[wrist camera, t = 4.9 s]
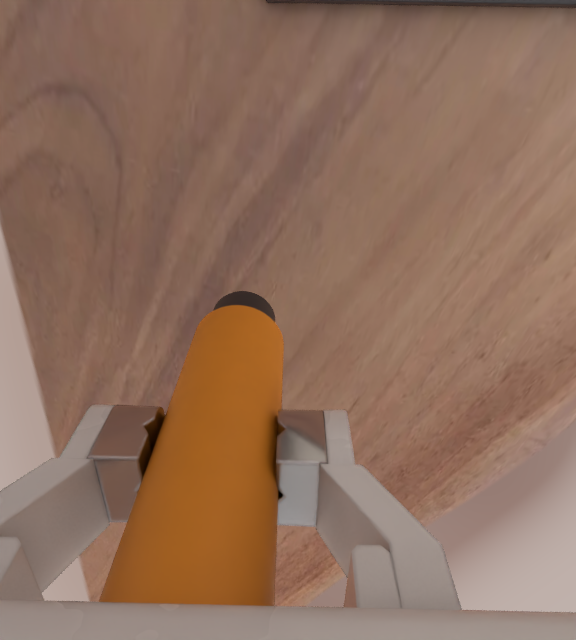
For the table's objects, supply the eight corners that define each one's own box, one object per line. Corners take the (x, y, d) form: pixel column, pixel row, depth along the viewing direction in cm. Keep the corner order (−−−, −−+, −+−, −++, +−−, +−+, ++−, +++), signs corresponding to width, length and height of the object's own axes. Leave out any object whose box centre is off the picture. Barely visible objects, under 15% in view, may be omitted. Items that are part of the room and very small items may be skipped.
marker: (204, 352, 16) (-29, 1127, 4) (198, 278, 14) (-161, 1117, 3) (285, 354, 16) (263, 1133, 4) (287, 280, 14) (259, 1125, 3)
